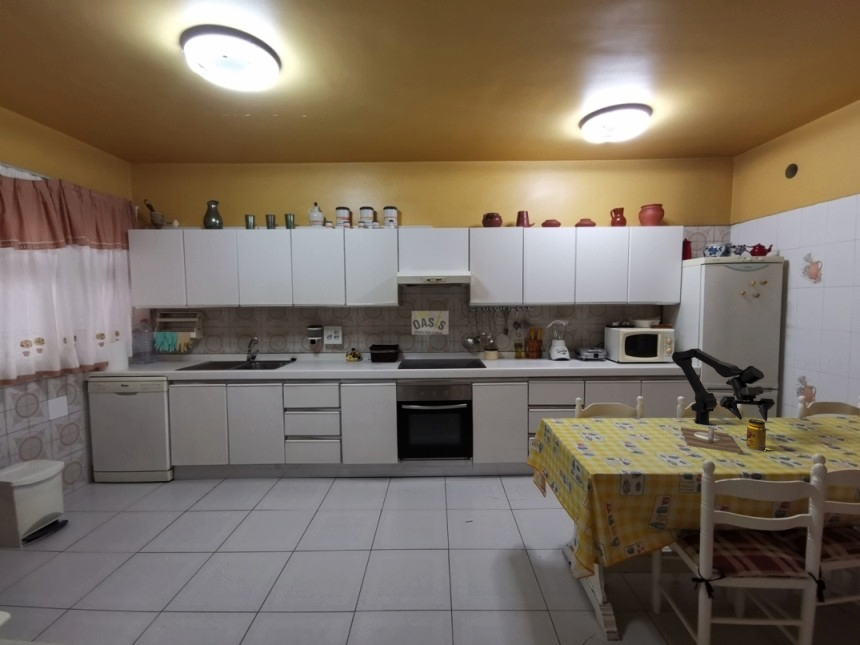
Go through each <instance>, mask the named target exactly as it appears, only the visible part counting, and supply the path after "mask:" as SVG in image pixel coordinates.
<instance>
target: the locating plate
mask: <svg viewBox="0 0 860 645" xmlns="http://www.w3.org/2000/svg"><path fill="white" fill-rule="evenodd" d="M680 431H681V433H682V435H683V438H684V440H685V443H686V445H687V446H688V445H689V447H696V448H703V449H709V450H717V451H722V452H723V451H724V452H730V453H735V454H736V453H737V454H740V453H741V449H740V448H739V447H738V445H737V444H736V443H735V441H734V440H733V439H732V438H731V436H730V435H729V433H727V432H720V431H715V429H714V428H712V427H709V428H708V430H703V429H697V428H689V427H680Z"/></svg>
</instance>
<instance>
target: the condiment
mask: <svg viewBox="0 0 860 645" xmlns="http://www.w3.org/2000/svg"><path fill="white" fill-rule="evenodd" d="M765 422H766V421H765V420H763V419H762V420H761V419H756V418H749V419H748V423H747V424H748V425H747V426H746V443H745V444H743V445H742V444H741V446H742V447H744V448H747V449H748V450H752V451H754V452H757V453H761V452H763V451H764V450H765V448H766V441H767V440H766V436H767V429H766V423H765ZM764 452H768V450H766V451H764Z"/></svg>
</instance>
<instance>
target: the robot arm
mask: <svg viewBox="0 0 860 645" xmlns="http://www.w3.org/2000/svg"><path fill="white" fill-rule="evenodd" d="M694 358H695V359H697V360H698V361H700V362H702V363H704V364H706V365H707V366H708V367H711V368H713V369H714V371H715V372H716V373H717V374H718V375H720V376H721V377H722V378H727V381H726V382H725V385H728V386H731V388H732V391H733V394H732V395H733V396H732V395H723V396H722V397H721V399H720V401H719V405H720V407H721V408H724V409H726V410H728V411H729V412H731V413H732V414H733V415H734V416H735V417H736V418H738V419H739V420H742V418H743V417H742V414H741V412H740V410H739V408H738V405H744V406H745V405H746V406H757V408H758V412H759V413H760V415H761V417H762V420H763V421H764V422H767V421H768V414H769V413H768V411H769V410H771V409H772V407H774V406H775V404H776V402H775V400H774V399H773V398H770V397H761V398H760V399H759V400H756V399H757V396H760V395H763V394H764V389H763V387H762V386H759V385H757V386H754V387H753V386H752V387H751V386H749V385H753V384H755V383H757V382H759V381H761V380H763V379H764V378H765V375H764V373H763V371H762V370H760V369H758V368H757V367H755V366H754V365H748V366H747V367H746V368H745V369H742V368H739V366H738V365H736V364H732V363H730V362H725V361H722V360H720V359H717V358H716V357H715V356H712V355H710V354H708V353H707V352H705V351H703V350H702V349H700V348H698V347H697V348H690V349H685V350H683V351H681V350H680V351H679V350H678V351H673V353H672V354H671V359H672V361H673V362H674V364H675V365H676V366H678V367H679V368H680V369H681V370H682V372H683V374H684V376H685V377H686V379H687V381H688V383H689V385H690V387H691V388H692V390H693V392H694V401H695V403H693V404H692V405H691V406H690V407H691V411H693V412H695V415H694V416H695V418H694V419H693V422H694V423H695V424H697V425H698V424H699V425H707V426H711V425H712V424H711V422H710V412H714V410H715V409H716V407H717V406H718V399H717V398H716V397H715V394H714V393H713V392H708V391H707V390H706V388H705V387H704V384H703V383H702V381H701V379H700V378H699V375H698V374H697V372H696V370H695V369H694V367H693V359H694ZM748 384H749V385H748Z"/></svg>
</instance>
